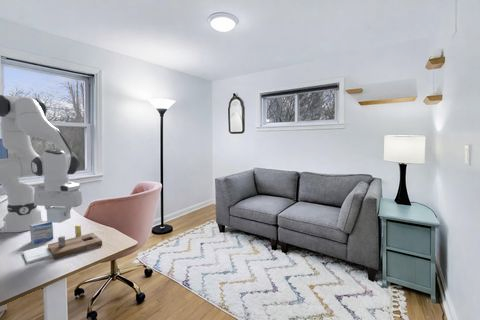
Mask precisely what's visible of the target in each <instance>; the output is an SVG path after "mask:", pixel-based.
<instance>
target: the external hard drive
mask: <svg viewBox="0 0 480 320" xmlns="http://www.w3.org/2000/svg"><path fill="white" fill-rule="evenodd" d="M22 255H24V256H23V258H24V259H25V262H27V263H26V264H27V265H29V264H33V263H34V262H35V261H36V262H39V261H42V260H41V259H43V260H45V258H46V259H49V258H51V257H52V258H53V256H52V254H51V252H50V251H49V249H48V245H41V246H39V247H35V248H31V249H27V250H24V251H22ZM38 260H39V261H38Z"/></svg>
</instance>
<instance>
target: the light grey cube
mask: <svg viewBox="0 0 480 320" xmlns="http://www.w3.org/2000/svg"><path fill="white" fill-rule="evenodd" d="M46 210H47V211H46ZM66 210H67V209H65V207H59V206H51V208H48V209H45V211H46V221H47V222H52V223H57V224H58V223H59V224H60V223H63V222H65V221H67V220H69V219H71V214H70V215H69V216H64V212H66Z"/></svg>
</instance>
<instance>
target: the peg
mask: <svg viewBox="0 0 480 320" xmlns="http://www.w3.org/2000/svg"><path fill="white" fill-rule="evenodd" d="M81 226H82V225H81V224H75V226H74V230H75V237H79V236H82V229H81V228H82V227H81Z"/></svg>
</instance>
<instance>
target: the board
mask: <svg viewBox="0 0 480 320" xmlns="http://www.w3.org/2000/svg"><path fill="white" fill-rule="evenodd" d="M57 240H58V241H57V242H52V243H48V244H47V248H48V249H49V251H50V252H51V254H52V258H53V260H59V259H61V258H66V257H69V256H71V255H74V254H78V253H81V252H85V251H88V250H91V249H95V248H98V247H101V246H103V241H102V238H100V237H98V236H97V235H96V234H95V233H94V232H91V233H87V234H84V235H82V234H81V236H79V237H76V236H75V237H71V238H68V239H66V236H64V235H63V236H61V235H60V236H59V237H57Z"/></svg>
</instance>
